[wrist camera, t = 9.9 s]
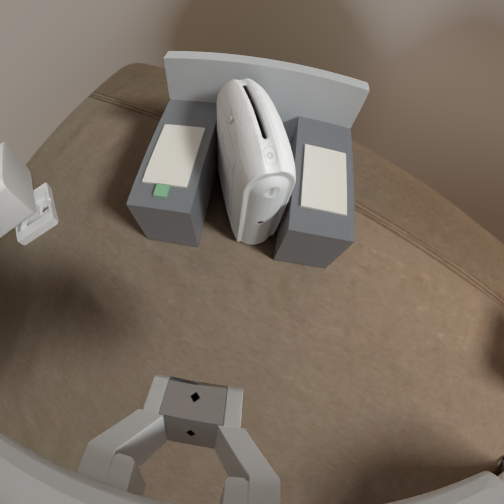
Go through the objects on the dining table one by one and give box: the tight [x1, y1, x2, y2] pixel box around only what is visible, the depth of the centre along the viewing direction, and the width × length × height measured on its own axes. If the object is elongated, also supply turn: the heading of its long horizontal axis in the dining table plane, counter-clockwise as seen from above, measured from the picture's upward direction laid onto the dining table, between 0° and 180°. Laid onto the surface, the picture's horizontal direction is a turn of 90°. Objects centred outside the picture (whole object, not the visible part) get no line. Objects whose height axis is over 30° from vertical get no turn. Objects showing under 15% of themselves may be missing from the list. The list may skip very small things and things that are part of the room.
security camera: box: [0, 141, 58, 246], centre depth 22 cm, size 6×7×10 cm
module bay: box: [126, 51, 369, 268], centre depth 24 cm, size 17×13×12 cm
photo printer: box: [217, 78, 296, 245], centre depth 23 cm, size 10×4×12 cm, turn 14°
